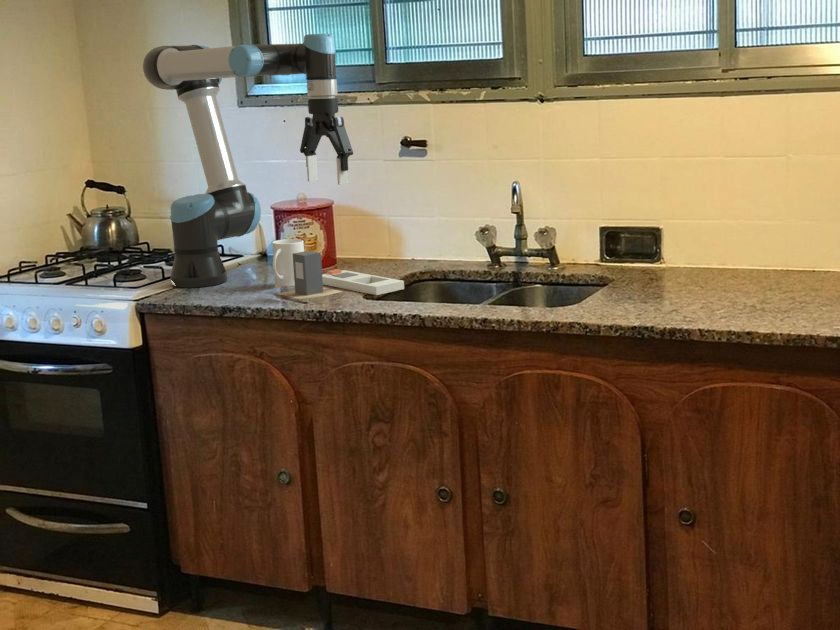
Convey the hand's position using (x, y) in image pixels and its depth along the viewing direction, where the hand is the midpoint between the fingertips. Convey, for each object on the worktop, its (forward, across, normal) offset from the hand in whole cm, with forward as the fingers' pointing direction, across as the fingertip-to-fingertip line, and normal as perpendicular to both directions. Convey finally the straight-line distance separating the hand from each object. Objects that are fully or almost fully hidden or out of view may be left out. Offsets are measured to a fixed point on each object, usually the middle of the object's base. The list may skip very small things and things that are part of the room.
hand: (327, 182), depth 264 cm
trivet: (+27, +6, -11) cm, 30 cm away
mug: (+27, -8, -9) cm, 30 cm away
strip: (+27, +6, +2) cm, 28 cm away
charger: (+26, +6, -12) cm, 29 cm away
